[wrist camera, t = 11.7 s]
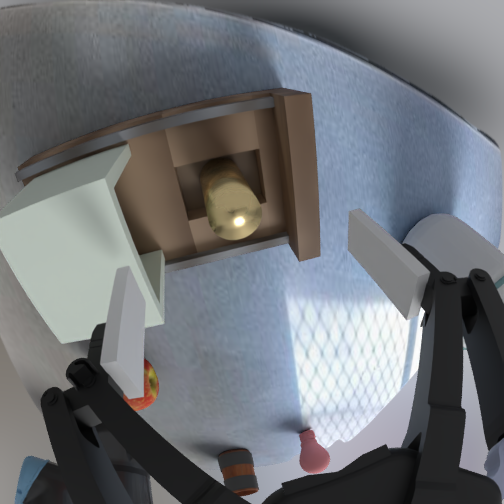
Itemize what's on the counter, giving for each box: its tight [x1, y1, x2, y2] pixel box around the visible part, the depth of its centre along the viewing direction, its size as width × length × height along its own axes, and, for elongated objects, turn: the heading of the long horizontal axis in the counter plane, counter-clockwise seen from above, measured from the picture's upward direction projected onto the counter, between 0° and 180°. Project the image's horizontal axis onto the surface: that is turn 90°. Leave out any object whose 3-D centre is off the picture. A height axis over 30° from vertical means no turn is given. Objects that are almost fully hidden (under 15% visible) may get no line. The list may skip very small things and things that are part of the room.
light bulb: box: [299, 430, 330, 473], centre depth 61 cm, size 7×7×12 cm
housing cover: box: [0, 144, 165, 344], centre depth 21 cm, size 9×11×8 cm
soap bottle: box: [402, 213, 504, 350], centre depth 26 cm, size 12×12×31 cm
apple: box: [123, 358, 159, 411], centre depth 35 cm, size 8×8×8 cm
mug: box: [218, 449, 259, 496], centre depth 62 cm, size 9×12×12 cm
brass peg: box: [200, 158, 262, 240], centre depth 24 cm, size 4×4×8 cm
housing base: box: [15, 88, 320, 273], centre depth 25 cm, size 24×14×6 cm, turn 98°
